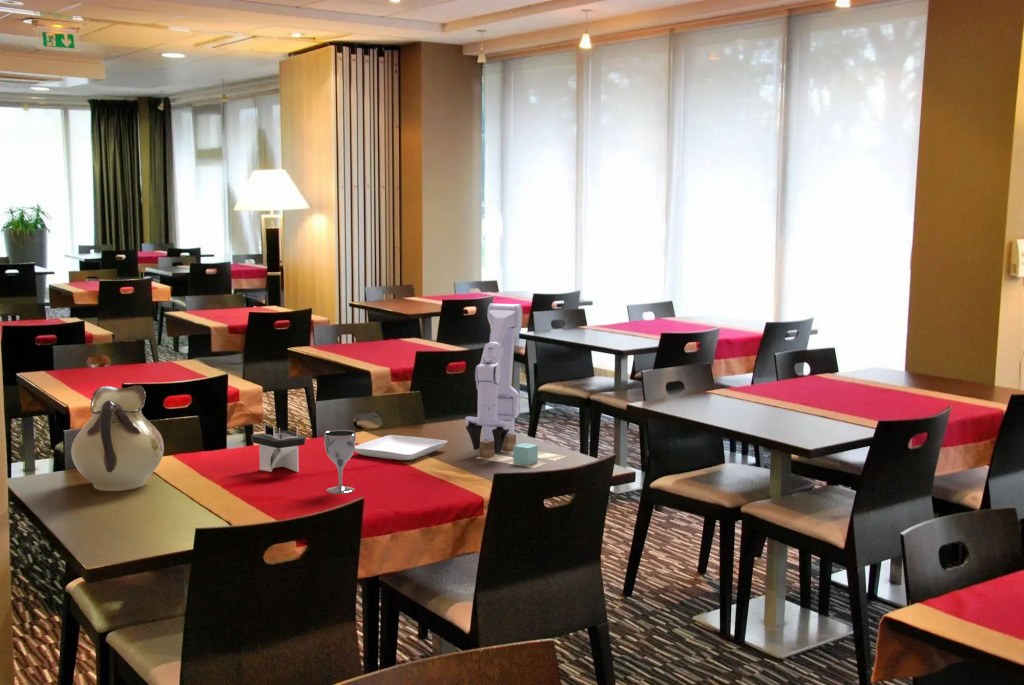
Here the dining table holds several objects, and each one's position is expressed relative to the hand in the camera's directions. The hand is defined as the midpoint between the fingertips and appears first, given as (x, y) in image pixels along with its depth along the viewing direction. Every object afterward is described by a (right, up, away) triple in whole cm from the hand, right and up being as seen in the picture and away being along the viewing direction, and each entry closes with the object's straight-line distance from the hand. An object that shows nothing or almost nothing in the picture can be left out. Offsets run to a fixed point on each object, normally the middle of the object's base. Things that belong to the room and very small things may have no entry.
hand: (487, 450), depth 308 cm
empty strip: (+13, -2, +5) cm, 14 cm away
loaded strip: (+7, -3, -4) cm, 9 cm away
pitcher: (-94, -6, -34) cm, 100 cm away
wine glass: (-37, -7, -36) cm, 52 cm away
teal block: (+11, -3, -7) cm, 14 cm away
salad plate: (-26, -2, +8) cm, 27 cm away
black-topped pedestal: (-57, -5, -16) cm, 59 cm away
